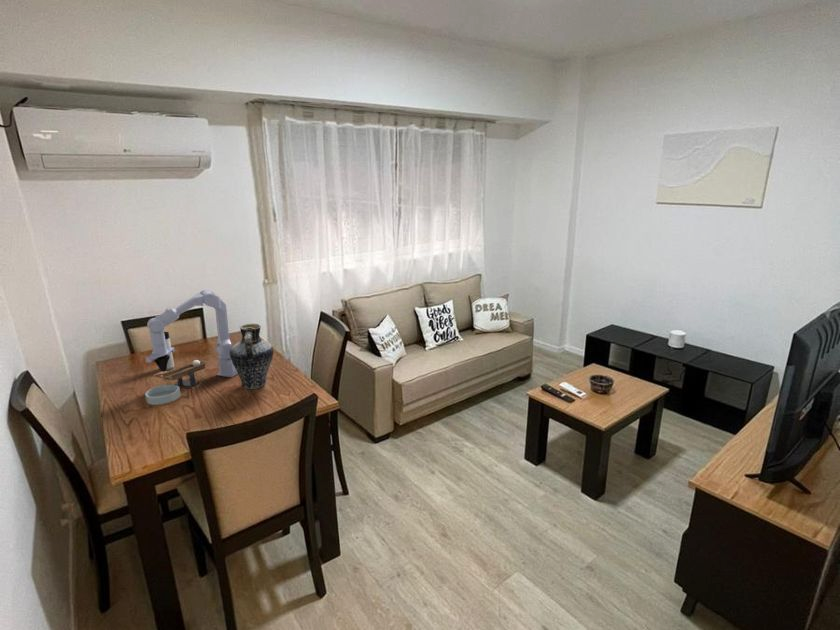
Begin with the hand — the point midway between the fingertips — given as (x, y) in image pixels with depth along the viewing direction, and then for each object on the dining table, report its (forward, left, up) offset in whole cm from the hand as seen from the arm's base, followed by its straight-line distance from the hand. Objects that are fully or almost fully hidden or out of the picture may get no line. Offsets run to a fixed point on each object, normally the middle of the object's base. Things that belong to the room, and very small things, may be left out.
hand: (163, 371), depth 210 cm
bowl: (-6, +8, -9) cm, 14 cm away
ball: (-6, -14, -1) cm, 15 cm away
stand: (-6, -6, -9) cm, 12 cm away
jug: (-38, -15, -9) cm, 42 cm away
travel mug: (+18, -19, -9) cm, 28 cm away
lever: (-3, -6, -4) cm, 8 cm away
